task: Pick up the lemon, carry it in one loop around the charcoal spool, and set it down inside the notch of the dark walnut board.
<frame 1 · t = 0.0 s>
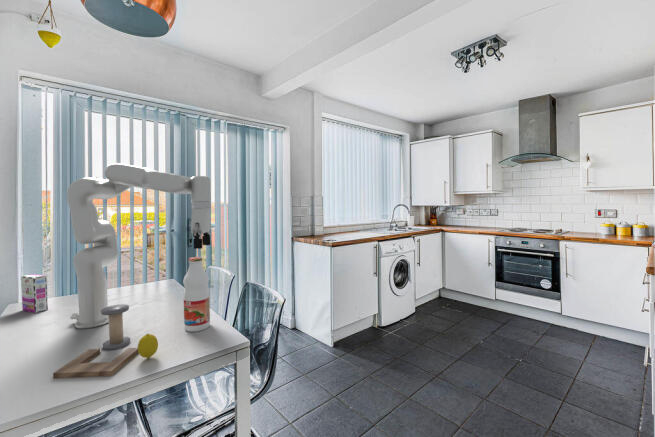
hand: (202, 246, 126), 31 cm above the table, tool pointing down, fingers open, 9 cm apart
spool: (116, 344, 105), on the table
candy bar box: (35, 310, 140), on the table
lemon: (148, 358, 96), on the table
notched board: (99, 364, 93), on the table
fruit juice: (197, 327, 120), on the table
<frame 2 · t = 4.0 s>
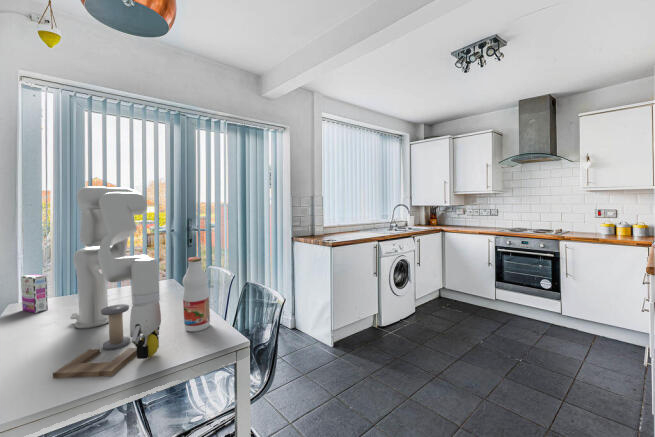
hand: (148, 352, 96), 2 cm above the table, tool pointing down, fingers closed on lemon, 5 cm apart
lemon: (149, 358, 96), on the table, touching gripper
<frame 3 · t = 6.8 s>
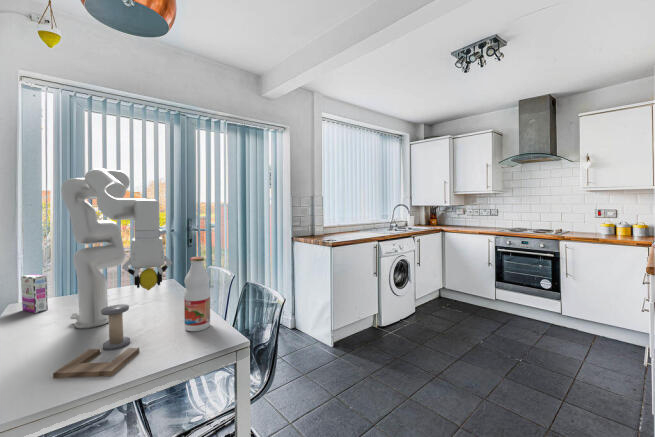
hand: (148, 285, 106), 21 cm above the table, tool pointing down, fingers closed on lemon, 5 cm apart
lemon: (148, 290, 106), point 19 cm above the table, touching gripper
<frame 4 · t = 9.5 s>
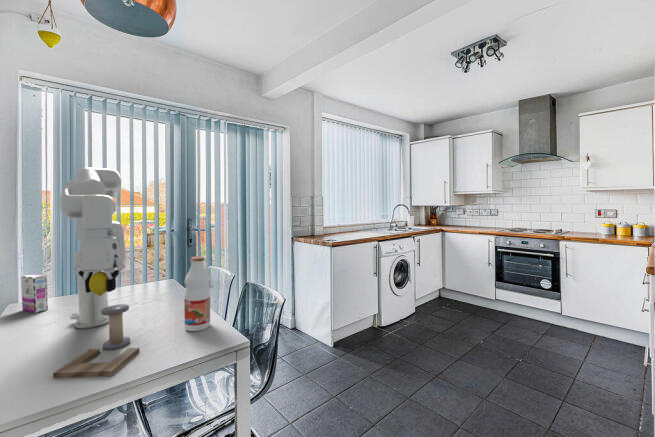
hand: (100, 290, 95), 22 cm above the table, tool pointing down, fingers closed on lemon, 5 cm apart
lemon: (100, 296, 95), point 20 cm above the table, touching gripper
everything else where it was.
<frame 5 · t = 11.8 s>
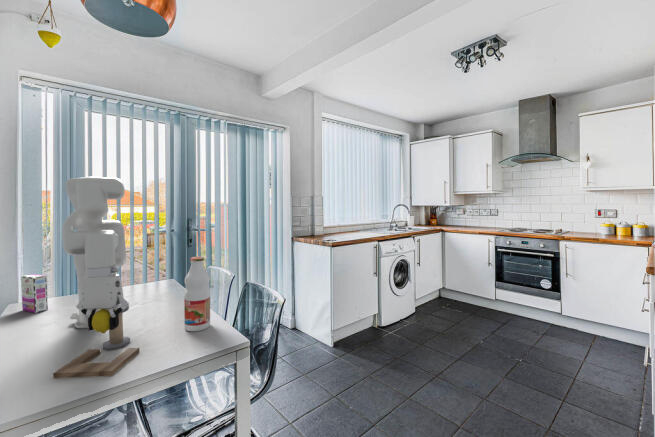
hand: (103, 328, 94), 10 cm above the table, tool pointing down, fingers closed on lemon, 5 cm apart
lemon: (103, 334, 94), point 8 cm above the table, touching gripper
everything else where it was.
when the fingers open (3 cm above the table, at t = 13.6 s): lemon drops 1 cm, on the table.
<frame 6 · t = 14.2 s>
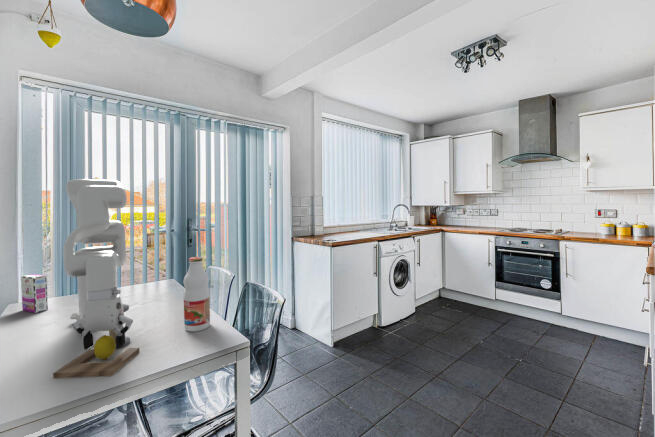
hand: (104, 347, 95), 4 cm above the table, tool pointing down, fingers open, 9 cm apart
lemon: (105, 360, 95), on the table
everything else where it was.
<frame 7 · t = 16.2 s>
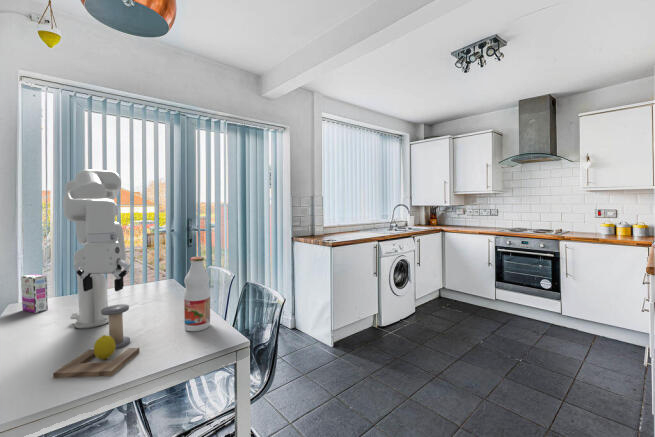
hand: (103, 290, 98), 21 cm above the table, tool pointing down, fingers open, 9 cm apart
nothing on the table moved.
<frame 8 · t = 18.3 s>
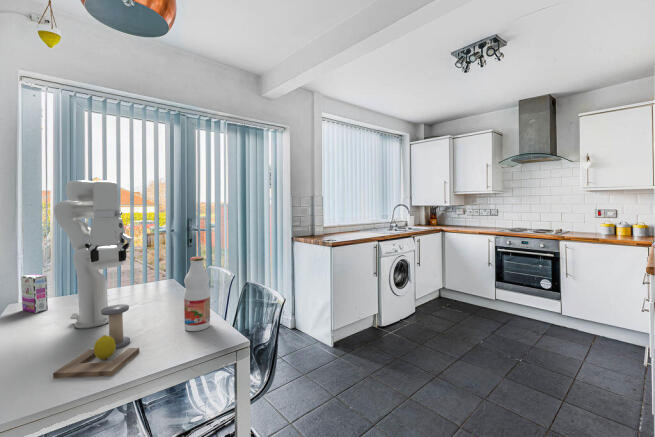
hand: (108, 261, 111), 28 cm above the table, tool pointing down, fingers open, 9 cm apart
nothing on the table moved.
at the end: lemon 0.6 cm from the target spot on the notched board, point 0.0 cm above the notched board's base; the gripper is holding nothing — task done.
